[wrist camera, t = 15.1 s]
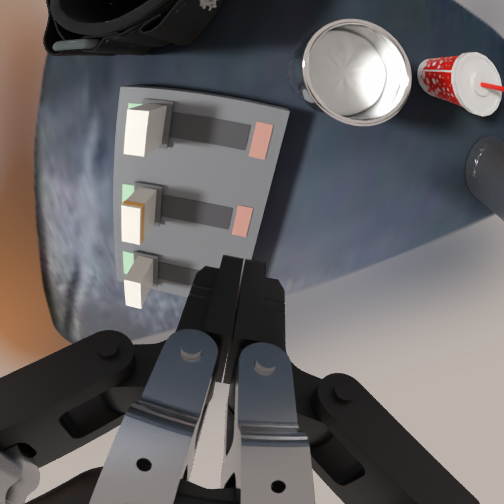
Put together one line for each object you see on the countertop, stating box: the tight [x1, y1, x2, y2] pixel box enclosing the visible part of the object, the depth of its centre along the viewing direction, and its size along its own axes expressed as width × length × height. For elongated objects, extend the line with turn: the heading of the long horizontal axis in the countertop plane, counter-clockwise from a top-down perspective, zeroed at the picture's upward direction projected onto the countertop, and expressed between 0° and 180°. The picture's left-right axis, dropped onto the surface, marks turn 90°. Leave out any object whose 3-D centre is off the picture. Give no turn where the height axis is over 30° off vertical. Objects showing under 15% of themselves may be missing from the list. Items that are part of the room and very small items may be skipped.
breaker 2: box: [124, 251, 159, 309], centre depth 34 cm, size 3×5×5 cm
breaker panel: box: [113, 85, 290, 297], centre depth 33 cm, size 17×25×3 cm
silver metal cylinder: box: [287, 19, 412, 126], centre depth 20 cm, size 7×7×15 cm
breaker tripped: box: [121, 182, 163, 245], centre depth 29 cm, size 3×5×5 cm
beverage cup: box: [417, 52, 504, 117], centre depth 18 cm, size 6×6×14 cm
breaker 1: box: [123, 99, 174, 157], centre depth 24 cm, size 3×5×5 cm
